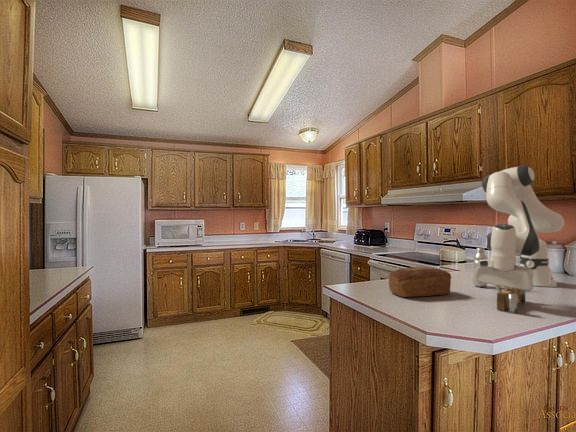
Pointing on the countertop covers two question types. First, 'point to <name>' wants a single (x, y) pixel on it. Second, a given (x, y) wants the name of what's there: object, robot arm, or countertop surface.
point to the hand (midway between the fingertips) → (502, 296)
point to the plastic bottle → (477, 257)
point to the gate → (506, 298)
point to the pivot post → (522, 296)
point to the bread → (419, 282)
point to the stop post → (512, 303)
